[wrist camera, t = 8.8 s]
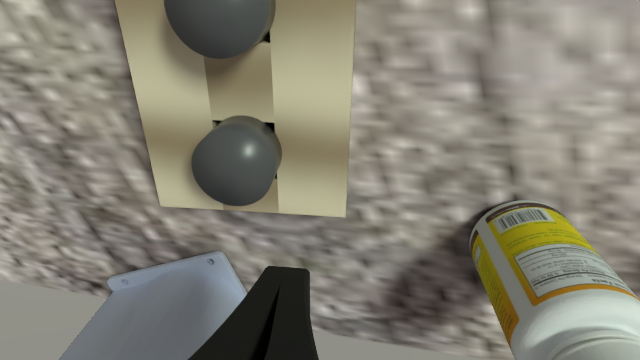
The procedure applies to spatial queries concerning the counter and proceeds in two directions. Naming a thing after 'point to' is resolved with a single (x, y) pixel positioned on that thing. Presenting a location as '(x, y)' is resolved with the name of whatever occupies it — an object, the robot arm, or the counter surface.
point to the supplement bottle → (552, 287)
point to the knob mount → (249, 101)
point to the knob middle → (220, 24)
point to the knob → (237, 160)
